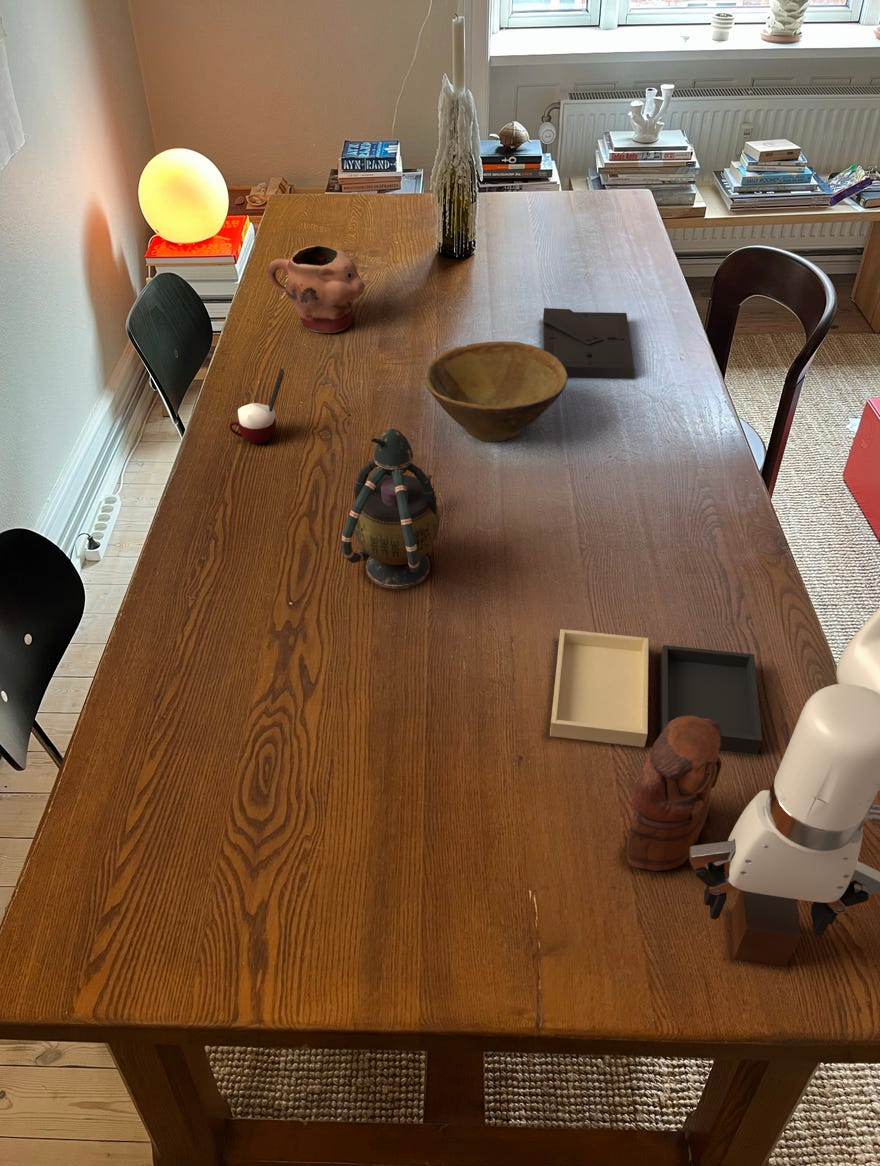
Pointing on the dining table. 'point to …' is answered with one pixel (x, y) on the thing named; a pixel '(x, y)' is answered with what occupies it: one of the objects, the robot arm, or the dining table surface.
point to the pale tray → (601, 688)
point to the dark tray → (712, 693)
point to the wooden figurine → (674, 793)
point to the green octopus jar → (392, 516)
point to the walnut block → (765, 928)
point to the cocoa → (258, 418)
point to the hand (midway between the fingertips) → (764, 913)
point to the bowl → (496, 386)
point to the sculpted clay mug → (320, 287)
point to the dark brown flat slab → (589, 343)
